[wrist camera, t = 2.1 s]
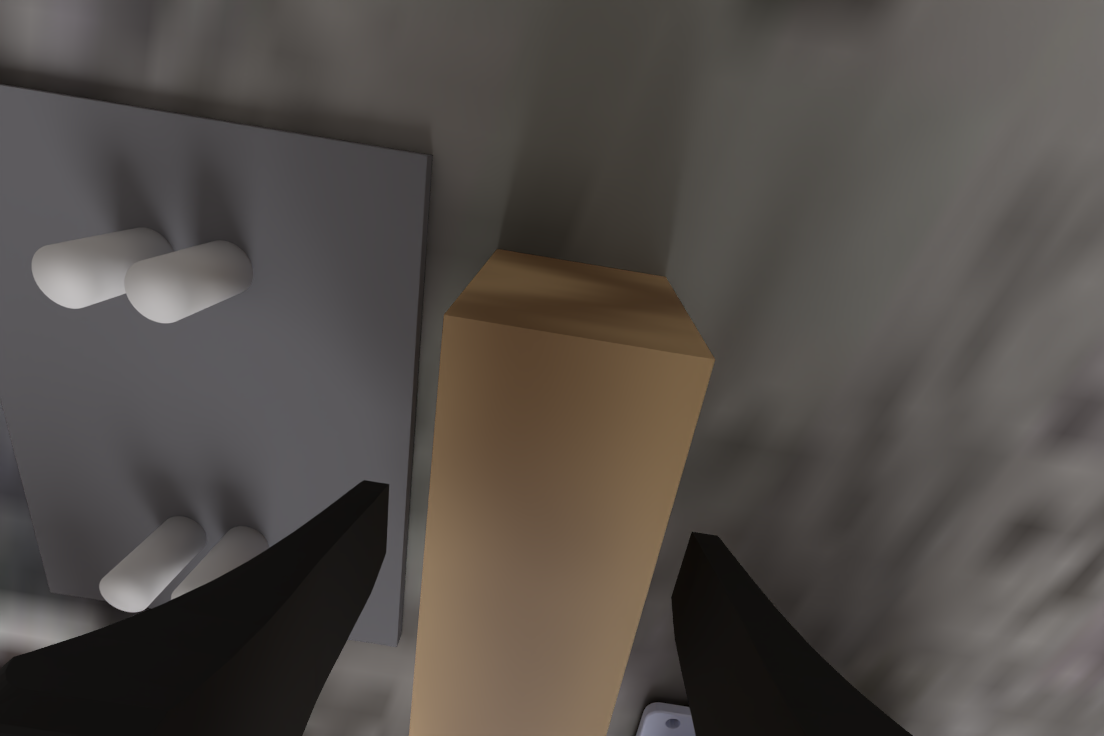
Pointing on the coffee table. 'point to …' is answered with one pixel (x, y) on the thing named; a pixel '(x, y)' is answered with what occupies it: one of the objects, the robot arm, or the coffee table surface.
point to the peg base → (203, 340)
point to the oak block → (549, 492)
